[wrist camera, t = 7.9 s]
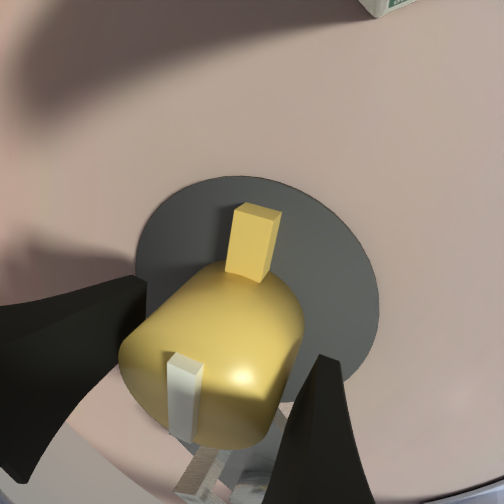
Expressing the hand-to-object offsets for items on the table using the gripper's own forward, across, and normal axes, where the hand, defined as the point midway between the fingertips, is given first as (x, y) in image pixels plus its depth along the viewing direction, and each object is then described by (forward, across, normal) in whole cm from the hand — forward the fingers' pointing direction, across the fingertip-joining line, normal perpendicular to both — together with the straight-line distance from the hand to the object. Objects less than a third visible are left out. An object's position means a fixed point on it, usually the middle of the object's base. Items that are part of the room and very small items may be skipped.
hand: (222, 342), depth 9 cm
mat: (+2, 0, 0) cm, 2 cm away
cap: (+2, 0, 0) cm, 2 cm away
